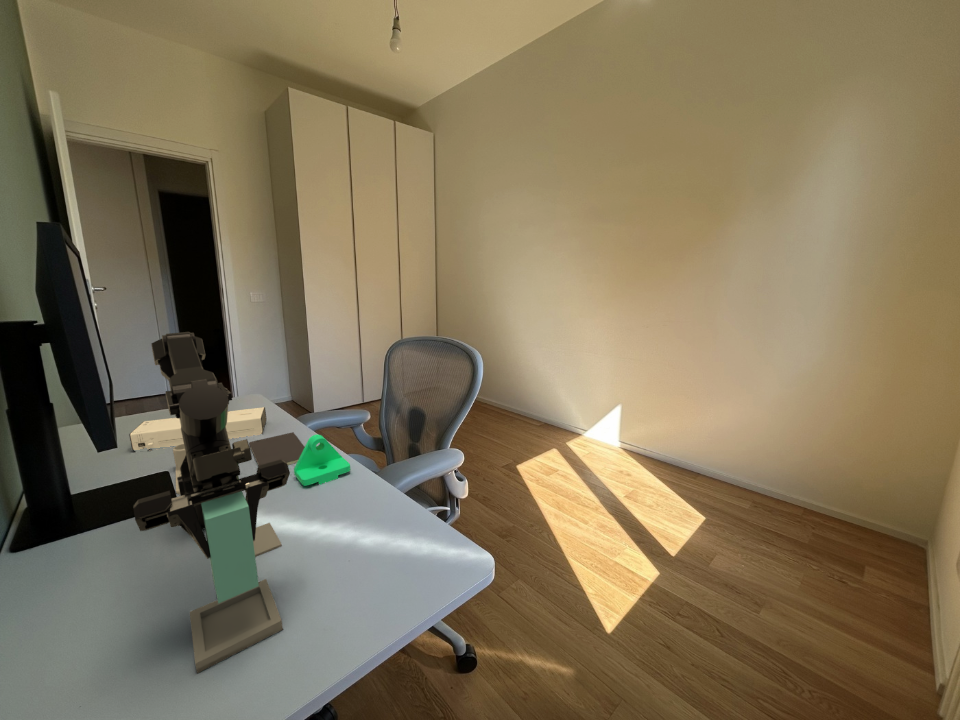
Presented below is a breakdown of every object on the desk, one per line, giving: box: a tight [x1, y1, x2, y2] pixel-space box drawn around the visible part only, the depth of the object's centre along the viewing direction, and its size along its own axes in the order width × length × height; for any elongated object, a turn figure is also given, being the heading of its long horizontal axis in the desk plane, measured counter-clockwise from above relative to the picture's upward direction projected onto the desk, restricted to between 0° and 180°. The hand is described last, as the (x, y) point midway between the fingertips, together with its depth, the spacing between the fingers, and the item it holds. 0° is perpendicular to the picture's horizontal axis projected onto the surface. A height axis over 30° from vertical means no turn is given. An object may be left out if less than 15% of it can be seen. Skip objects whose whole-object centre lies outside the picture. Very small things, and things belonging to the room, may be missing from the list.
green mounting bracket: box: [293, 434, 351, 487], centre depth 101 cm, size 12×8×10 cm, turn 130°
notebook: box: [248, 432, 305, 466], centre depth 116 cm, size 13×2×21 cm
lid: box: [253, 522, 283, 558], centre depth 77 cm, size 9×9×1 cm
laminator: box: [128, 406, 267, 451], centre depth 126 cm, size 34×12×6 cm, turn 113°
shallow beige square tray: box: [189, 578, 284, 674], centre depth 59 cm, size 10×10×2 cm
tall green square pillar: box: [201, 491, 259, 604], centre depth 57 cm, size 5×5×13 cm
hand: (231, 548), depth 56 cm, fingers closed on tall green square pillar, 5 cm apart
